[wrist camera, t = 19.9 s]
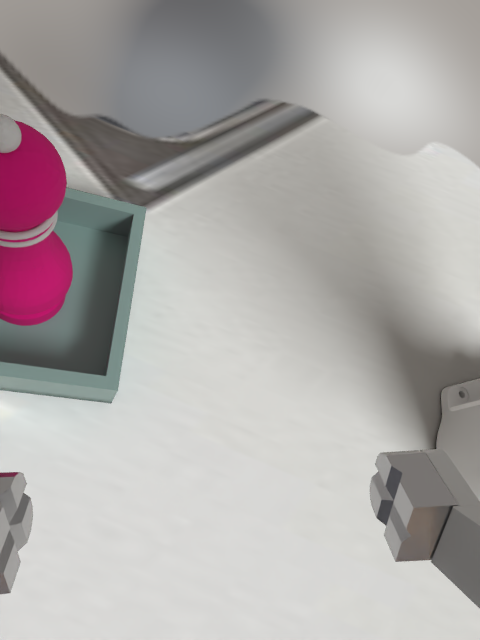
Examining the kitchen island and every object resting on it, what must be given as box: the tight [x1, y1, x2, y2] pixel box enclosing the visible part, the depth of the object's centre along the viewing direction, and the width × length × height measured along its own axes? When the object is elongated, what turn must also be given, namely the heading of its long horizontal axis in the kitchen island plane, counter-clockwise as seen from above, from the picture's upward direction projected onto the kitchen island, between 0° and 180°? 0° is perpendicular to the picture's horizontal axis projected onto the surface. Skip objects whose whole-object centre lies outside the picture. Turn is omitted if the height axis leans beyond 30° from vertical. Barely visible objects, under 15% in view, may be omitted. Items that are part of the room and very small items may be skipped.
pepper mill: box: [0, 114, 73, 326], centre depth 30 cm, size 7×7×20 cm
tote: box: [0, 188, 146, 403], centre depth 37 cm, size 17×17×5 cm
